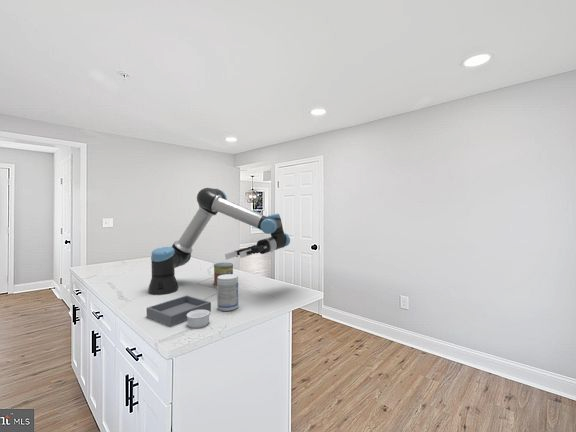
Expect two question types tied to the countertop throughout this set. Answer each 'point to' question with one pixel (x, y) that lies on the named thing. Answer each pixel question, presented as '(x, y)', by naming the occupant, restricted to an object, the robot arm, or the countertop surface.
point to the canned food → (222, 270)
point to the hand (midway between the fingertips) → (232, 256)
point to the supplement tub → (227, 292)
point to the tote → (176, 309)
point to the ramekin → (198, 318)
